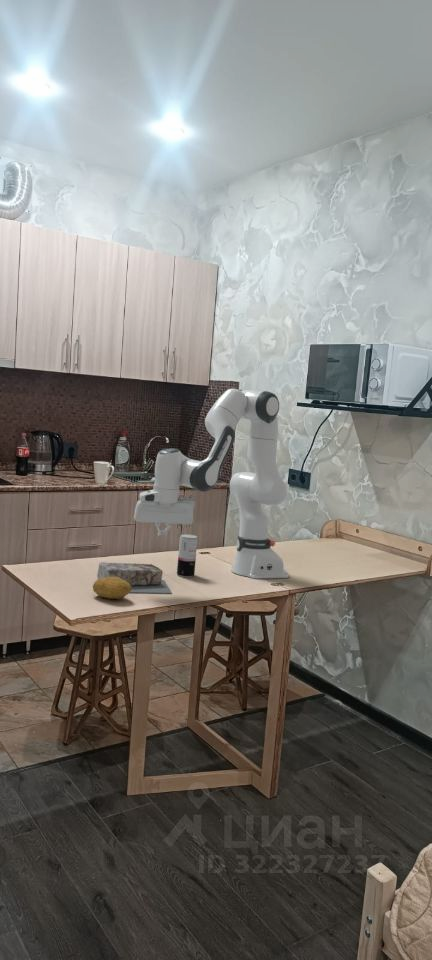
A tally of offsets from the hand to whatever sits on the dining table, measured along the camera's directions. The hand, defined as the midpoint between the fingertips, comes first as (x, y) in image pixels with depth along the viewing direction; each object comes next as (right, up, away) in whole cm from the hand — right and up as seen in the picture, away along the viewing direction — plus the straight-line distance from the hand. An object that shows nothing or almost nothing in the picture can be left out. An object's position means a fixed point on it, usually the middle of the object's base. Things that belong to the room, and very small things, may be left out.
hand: (162, 535), depth 244 cm
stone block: (-3, -14, +8) cm, 17 cm away
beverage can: (+7, -17, +22) cm, 28 cm away
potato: (-15, -19, -16) cm, 29 cm away
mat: (-7, -18, +1) cm, 19 cm away
